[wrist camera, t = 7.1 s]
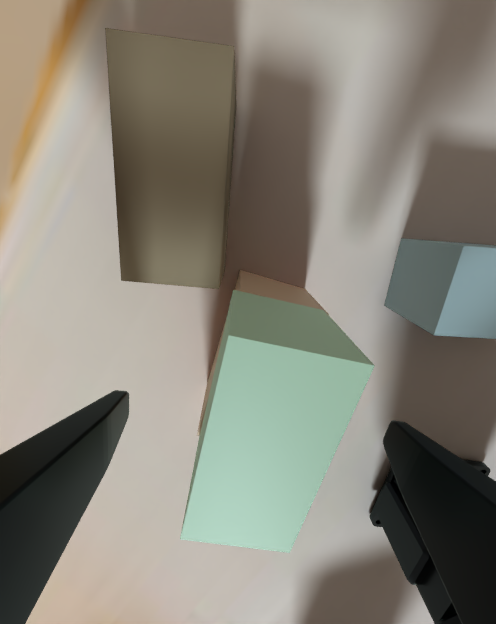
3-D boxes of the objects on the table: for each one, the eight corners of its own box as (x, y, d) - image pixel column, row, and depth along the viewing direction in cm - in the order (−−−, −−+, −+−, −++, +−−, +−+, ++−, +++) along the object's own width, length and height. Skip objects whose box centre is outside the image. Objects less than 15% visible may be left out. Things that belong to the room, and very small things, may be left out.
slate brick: (531, 248, 14) (645, 259, 10) (504, 312, 15) (596, 344, 11) (399, 238, 13) (463, 245, 9) (382, 304, 14) (433, 335, 11)
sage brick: (233, 289, 10) (228, 335, 6) (323, 309, 10) (374, 365, 6) (199, 437, 12) (179, 539, 8) (274, 449, 12) (289, 553, 8)
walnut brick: (151, 94, 11) (105, 28, 7) (236, 104, 11) (234, 46, 7) (155, 263, 13) (121, 280, 9) (224, 269, 13) (218, 289, 10)
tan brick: (240, 269, 13) (240, 289, 10) (304, 288, 14) (328, 314, 10) (207, 382, 16) (196, 435, 12) (263, 396, 16) (271, 451, 12)
